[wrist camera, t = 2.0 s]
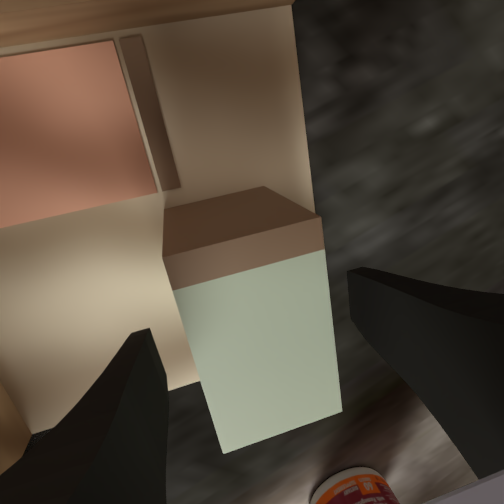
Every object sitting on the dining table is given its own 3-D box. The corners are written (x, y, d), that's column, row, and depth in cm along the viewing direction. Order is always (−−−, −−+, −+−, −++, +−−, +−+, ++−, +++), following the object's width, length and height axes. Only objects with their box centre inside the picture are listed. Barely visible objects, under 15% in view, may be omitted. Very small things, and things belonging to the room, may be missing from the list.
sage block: (287, 324, 18) (342, 411, 12) (204, 350, 17) (223, 454, 11) (264, 185, 15) (321, 216, 9) (163, 209, 14) (161, 257, 9)
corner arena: (325, 334, 19) (357, 374, 16) (10, 434, 16) (-28, 506, 13) (282, -28, 13) (320, -82, 10) (-242, 40, 10) (-429, -2, 7)
